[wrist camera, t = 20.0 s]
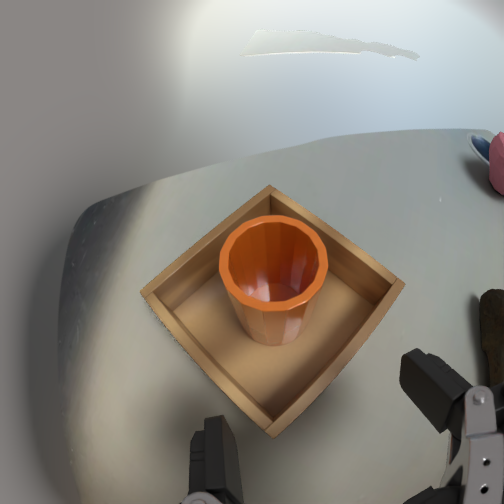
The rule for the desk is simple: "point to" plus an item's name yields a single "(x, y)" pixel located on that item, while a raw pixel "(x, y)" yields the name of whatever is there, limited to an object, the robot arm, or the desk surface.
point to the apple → (497, 163)
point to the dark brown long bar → (493, 332)
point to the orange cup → (273, 276)
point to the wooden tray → (262, 356)
